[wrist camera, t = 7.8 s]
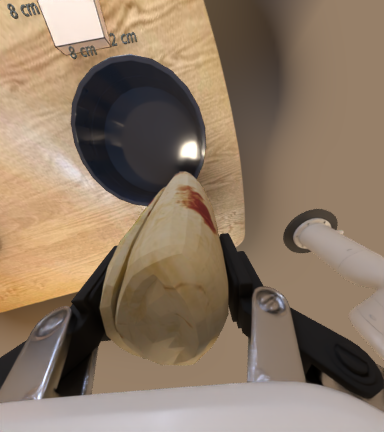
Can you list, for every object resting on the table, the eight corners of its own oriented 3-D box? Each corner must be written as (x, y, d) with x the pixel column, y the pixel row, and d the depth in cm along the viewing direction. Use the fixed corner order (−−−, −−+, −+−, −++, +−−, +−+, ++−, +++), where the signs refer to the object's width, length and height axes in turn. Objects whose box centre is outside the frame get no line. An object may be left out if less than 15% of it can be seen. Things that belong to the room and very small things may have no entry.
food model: (199, 222, 26) (225, 395, 7) (163, 220, 25) (98, 395, 7) (205, 167, 21) (298, 251, 3) (162, 163, 21) (6, 236, 3)
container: (120, -40, 23) (112, -62, 21) (140, 55, 28) (136, 46, 26) (8, -15, 24) (-13, -34, 22) (46, 73, 29) (33, 65, 26)
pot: (196, 76, 30) (199, 43, 21) (204, 188, 40) (209, 199, 31) (85, 91, 30) (41, 66, 21) (121, 198, 41) (102, 211, 32)
